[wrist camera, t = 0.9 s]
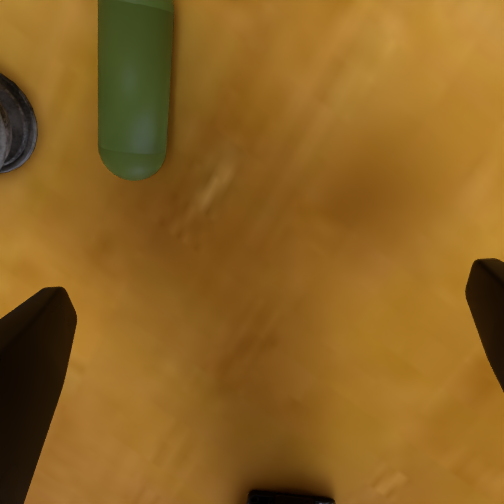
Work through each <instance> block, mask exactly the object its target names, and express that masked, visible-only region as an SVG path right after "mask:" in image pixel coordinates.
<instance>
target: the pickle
mask: <svg viewBox="0 0 504 504" xmlns="http://www.w3.org/2000/svg"><path fill="white" fill-rule="evenodd" d="M173 26H174V4H173V0H98V148H99V154H100V157H101V159H102V161H103V163H104V165H105V166H106V167H107V168H108V169H109V171H111V172H112V173H113V174H114V175H116V176H118V177H120V178H122V179H126V180H131V181H137V180H143V179H146V178H149V177H150V176H152V175H153V174H155V173H156V172H157V171H158V170H159V169H160V167H161V166H162V164H163V162H164V160H165V157H166V149H167V131H168V114H169V96H170V79H171V61H172V44H173Z"/></svg>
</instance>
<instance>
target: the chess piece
mask: <svg viewBox="0 0 504 504" xmlns="http://www.w3.org/2000/svg"><path fill="white" fill-rule="evenodd" d="M36 140H37V122H36V118H35V115H34V112H33V108H32V107H31V105H30V103H29V101H28V100H27V98H26V96H25V94H24V93H23V92H22V91H21V90H20V89H19V88H18V87H17V85H16V84H15V83H14V82H12V81H11V80H9V79H8V78H7V77H5V76H4V75H2V74H1V73H0V173H4V172H9V171H11V170H14V169H16V168H18V167H20V166H21V165H22V164H23V163H24V162H26V161H27V160H28V159H29V157H30V155H31V154H32V152H33V150H34V148H35V144H36Z"/></svg>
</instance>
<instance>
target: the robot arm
mask: <svg viewBox="0 0 504 504" xmlns="http://www.w3.org/2000/svg"><path fill="white" fill-rule="evenodd" d="M465 294H466V299H467V302H468V305H469V308H470V311H471V314H472V316H473V319H474V322H475V325H476V328H477V331H478V333H479V336H480V339H481V342H482V345H483V348H484V350H485V353H486V356H487V358H488V360H489V363H490V365H491V367H492V369H493V371H494V373H495V375H496V377H497V379H498V381H499V383H500V385H501V388H502V390H503V392H504V262H502V261H500V260H498V259H496V258H487V259H477V260H475V261H474V263H473V265H472V267H471V271H470V274H469V278H468V282H467V285H466V290H465ZM76 325H77V315H76V311H75V309H74V307H73V305H72V302H71V300H70V298H69V295H68V293H67V291H66V290H65V289H64V288H63V287H46V288H43V289H41V290H40V291H39V292H37V293H36V294H35V295H33V296H32V297H30V298H29V299H28V300H26V301H25V302H23V303H22V304H21V305H19V306H18V307H17V308H15V309H14V310H12V311H11V312H10V313H8V314H7V315H5V316H4V317H3V318H1V319H0V504H24V501H25V498H26V495H27V492H28V489H29V486H30V483H31V480H32V477H33V474H34V471H35V468H36V465H37V462H38V459H39V456H40V453H41V451H42V448H43V445H44V442H45V439H46V436H47V433H48V430H49V427H50V424H51V421H52V418H53V415H54V412H55V409H56V406H57V403H58V400H59V397H60V394H61V391H62V387H63V384H64V380H65V376H66V372H67V367H68V362H69V358H70V353H71V348H72V343H73V339H74V334H75V329H76ZM246 504H336V503H335V501H334V500H333V499H331V498H324V497H314V496H305V495H295V494H286V493H276V492H267V491H257V490H253V491H250V492H249V494H248V498H247V503H246Z"/></svg>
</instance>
